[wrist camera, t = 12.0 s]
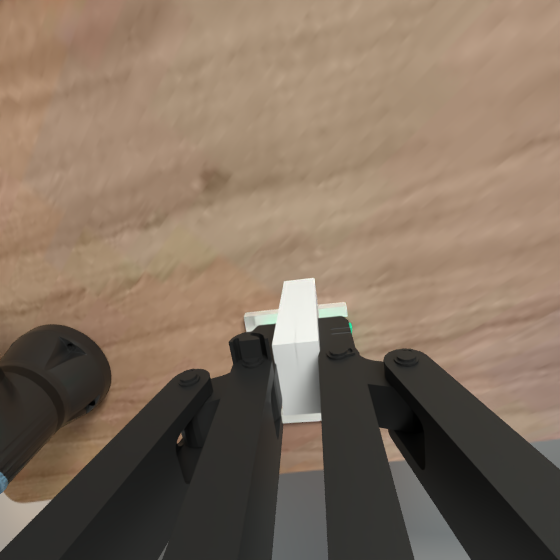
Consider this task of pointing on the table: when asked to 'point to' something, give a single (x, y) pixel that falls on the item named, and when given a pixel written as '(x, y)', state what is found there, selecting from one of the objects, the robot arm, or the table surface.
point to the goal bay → (270, 318)
